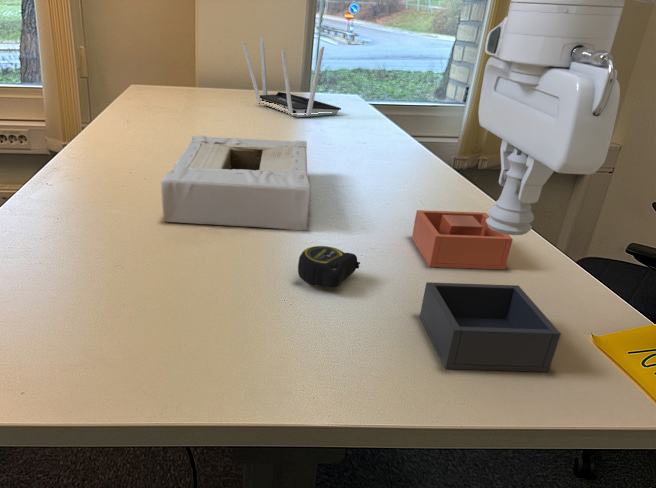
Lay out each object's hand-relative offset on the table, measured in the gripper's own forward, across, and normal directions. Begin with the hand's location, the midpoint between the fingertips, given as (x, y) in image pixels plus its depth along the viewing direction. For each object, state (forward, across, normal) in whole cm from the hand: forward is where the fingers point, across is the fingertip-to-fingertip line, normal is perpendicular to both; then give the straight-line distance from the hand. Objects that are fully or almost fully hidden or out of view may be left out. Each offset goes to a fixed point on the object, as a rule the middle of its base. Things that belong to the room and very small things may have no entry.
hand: (516, 194), depth 58 cm
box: (+16, +46, +28) cm, 56 cm away
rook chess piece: (+4, 0, 0) cm, 4 cm away
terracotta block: (+16, +23, -4) cm, 28 cm away
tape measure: (+16, +12, +16) cm, 26 cm away
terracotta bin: (+16, +23, -4) cm, 29 cm away
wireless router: (+16, +132, +15) cm, 134 cm away
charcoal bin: (+16, -2, +1) cm, 16 cm away
